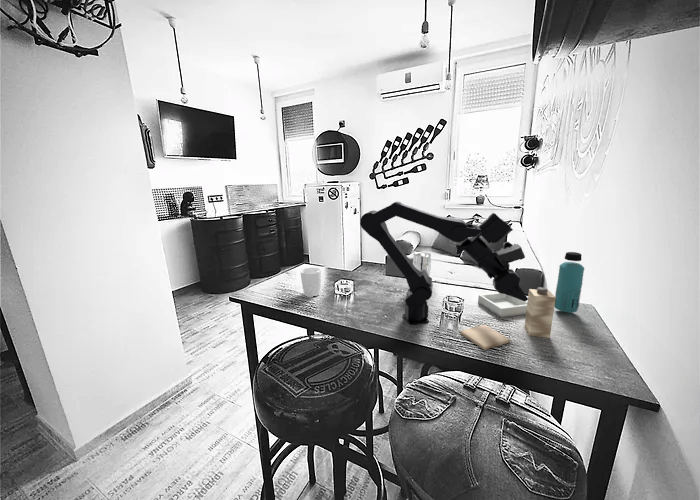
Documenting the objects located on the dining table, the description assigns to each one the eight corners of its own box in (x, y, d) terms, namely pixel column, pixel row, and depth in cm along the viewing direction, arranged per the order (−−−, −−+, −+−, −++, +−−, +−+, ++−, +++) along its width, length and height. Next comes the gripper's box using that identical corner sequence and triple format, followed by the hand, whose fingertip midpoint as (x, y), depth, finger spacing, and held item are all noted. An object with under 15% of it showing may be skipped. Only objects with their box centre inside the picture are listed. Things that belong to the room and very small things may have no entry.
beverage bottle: (570, 319, 89) (581, 256, 84) (548, 310, 95) (556, 252, 90) (581, 314, 92) (592, 253, 87) (559, 306, 98) (568, 249, 93)
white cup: (326, 292, 117) (324, 269, 114) (313, 299, 110) (311, 274, 108) (311, 289, 121) (309, 266, 119) (298, 295, 115) (296, 272, 112)
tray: (500, 317, 92) (501, 308, 91) (477, 302, 103) (478, 294, 102) (532, 313, 94) (533, 304, 93) (506, 299, 105) (507, 291, 104)
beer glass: (430, 294, 112) (432, 256, 108) (412, 293, 113) (413, 256, 110) (429, 287, 118) (430, 252, 115) (412, 286, 120) (413, 251, 116)
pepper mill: (529, 335, 81) (534, 291, 78) (524, 326, 86) (529, 285, 83) (549, 337, 80) (556, 293, 76) (543, 328, 84) (549, 286, 81)
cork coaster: (484, 349, 75) (484, 347, 75) (460, 333, 83) (460, 330, 83) (510, 342, 78) (510, 339, 78) (484, 326, 86) (484, 324, 86)
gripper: (514, 242, 70) (561, 288, 70) (499, 229, 88) (537, 265, 87) (477, 271, 75) (521, 314, 74) (470, 253, 92) (505, 288, 91)
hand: (522, 293), depth 81 cm, fingers open, 9 cm apart
